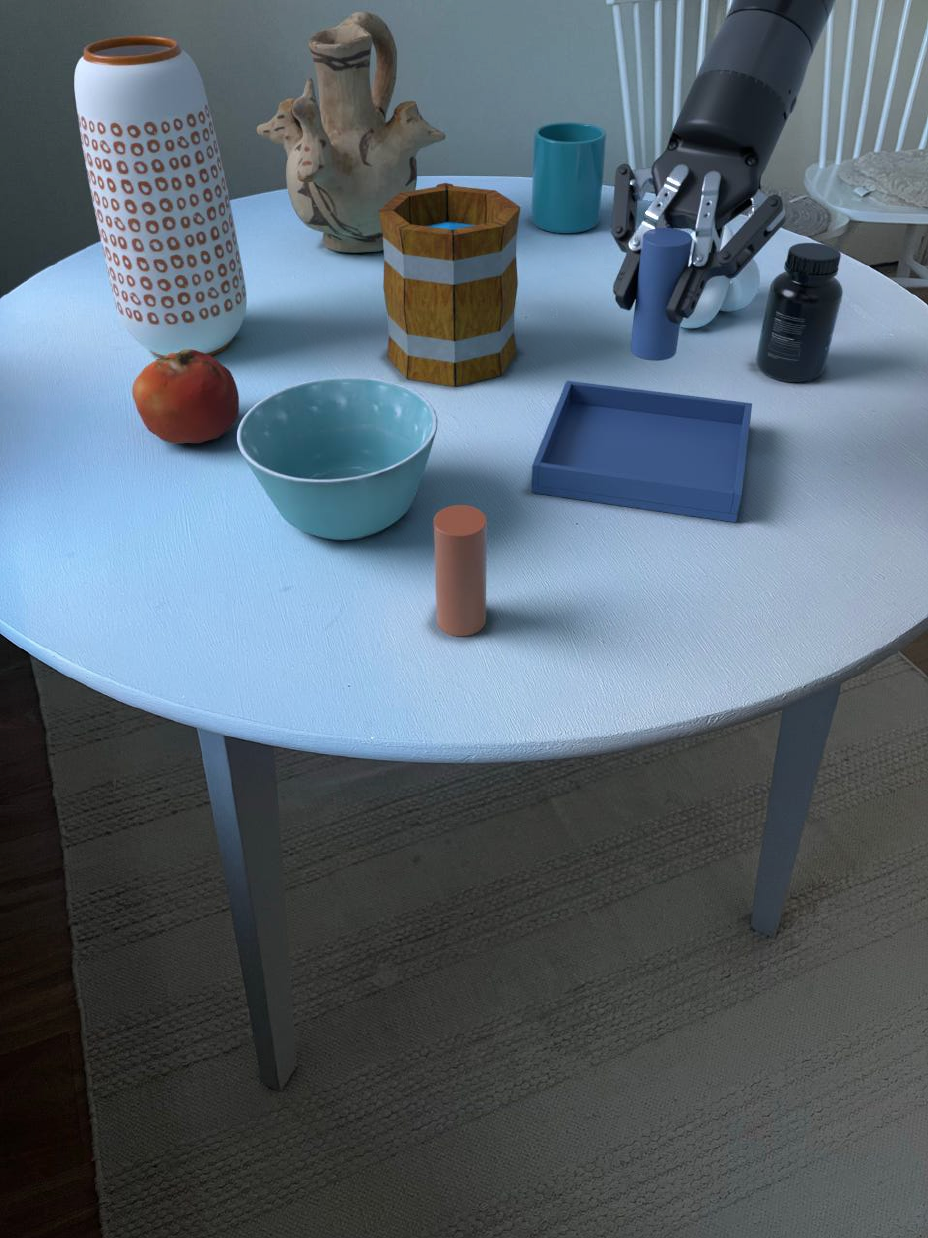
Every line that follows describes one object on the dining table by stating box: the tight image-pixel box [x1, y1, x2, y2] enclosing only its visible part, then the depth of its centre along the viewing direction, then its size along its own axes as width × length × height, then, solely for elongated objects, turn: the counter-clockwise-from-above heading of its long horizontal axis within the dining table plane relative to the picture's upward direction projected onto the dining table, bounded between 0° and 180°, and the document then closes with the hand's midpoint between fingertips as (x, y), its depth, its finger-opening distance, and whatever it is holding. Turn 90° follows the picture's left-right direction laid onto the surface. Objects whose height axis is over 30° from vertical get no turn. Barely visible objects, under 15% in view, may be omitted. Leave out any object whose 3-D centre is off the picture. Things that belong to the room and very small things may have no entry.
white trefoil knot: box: [680, 224, 761, 329], centre depth 109 cm, size 11×12×9 cm
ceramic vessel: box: [256, 11, 447, 253], centre depth 120 cm, size 18×19×25 cm
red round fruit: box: [131, 350, 240, 445], centre depth 91 cm, size 9×9×8 cm
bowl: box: [236, 376, 438, 541], centre depth 81 cm, size 16×16×8 cm
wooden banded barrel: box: [378, 182, 521, 388], centre depth 102 cm, size 20×14×15 cm
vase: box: [73, 35, 248, 359], centre depth 98 cm, size 13×13×28 cm
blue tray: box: [530, 380, 753, 523], centre depth 89 cm, size 17×15×3 cm
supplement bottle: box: [755, 242, 844, 383], centre depth 98 cm, size 7×7×12 cm
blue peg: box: [629, 228, 692, 362], centre depth 76 cm, size 4×4×9 cm
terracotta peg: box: [433, 504, 488, 637], centre depth 70 cm, size 4×4×9 cm
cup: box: [530, 121, 607, 234], centre depth 131 cm, size 9×12×11 cm
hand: (647, 311), depth 75 cm, fingers closed on blue peg, 3 cm apart
